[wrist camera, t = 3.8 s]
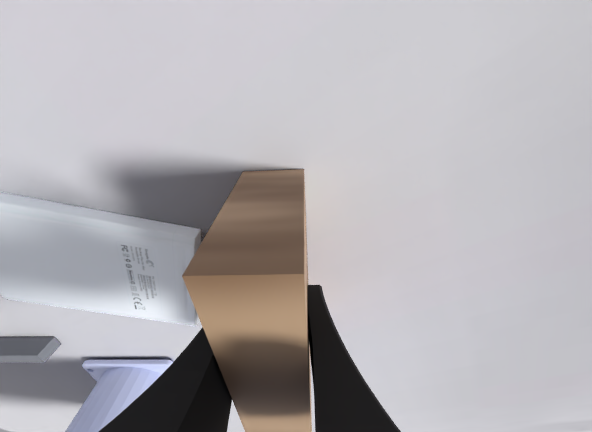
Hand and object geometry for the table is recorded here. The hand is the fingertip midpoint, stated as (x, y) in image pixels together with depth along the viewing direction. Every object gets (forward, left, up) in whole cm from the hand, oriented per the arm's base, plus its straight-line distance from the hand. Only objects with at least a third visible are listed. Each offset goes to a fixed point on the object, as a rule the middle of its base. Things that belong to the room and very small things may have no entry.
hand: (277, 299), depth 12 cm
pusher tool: (0, 0, -3) cm, 3 cm away
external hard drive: (0, +11, -4) cm, 12 cm away
